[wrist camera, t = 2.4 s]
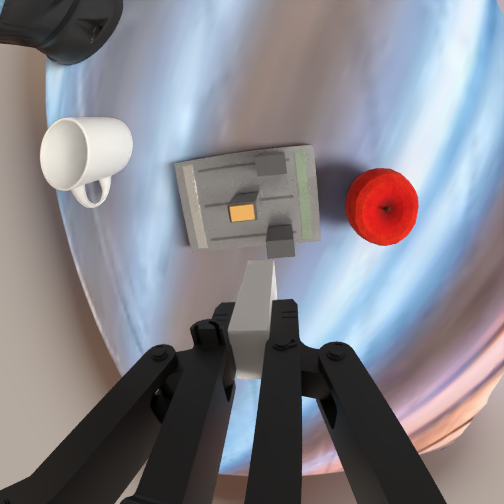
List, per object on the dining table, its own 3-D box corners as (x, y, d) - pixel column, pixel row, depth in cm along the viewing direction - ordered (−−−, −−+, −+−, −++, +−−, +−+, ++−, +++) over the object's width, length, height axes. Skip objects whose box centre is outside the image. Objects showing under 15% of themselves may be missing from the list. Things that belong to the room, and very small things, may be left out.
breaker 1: (258, 154, 31) (254, 157, 27) (283, 151, 31) (284, 154, 26) (260, 171, 32) (257, 176, 27) (286, 168, 32) (287, 173, 27)
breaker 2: (267, 227, 35) (265, 241, 30) (291, 224, 34) (293, 239, 30) (269, 242, 35) (267, 258, 31) (293, 240, 35) (295, 256, 30)
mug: (94, 199, 38) (49, 221, 28) (86, 124, 33) (37, 128, 23) (140, 194, 37) (98, 216, 27) (133, 111, 32) (86, 108, 22)
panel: (179, 162, 35) (173, 163, 33) (311, 144, 32) (313, 145, 30) (195, 246, 39) (191, 252, 37) (318, 235, 37) (320, 241, 35)
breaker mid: (234, 194, 33) (226, 205, 28) (259, 192, 33) (255, 202, 28) (236, 210, 34) (229, 223, 29) (261, 208, 34) (257, 220, 29)
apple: (407, 209, 34) (434, 227, 27) (355, 240, 36) (372, 265, 29) (380, 151, 31) (405, 156, 24) (324, 183, 34) (336, 196, 27)
